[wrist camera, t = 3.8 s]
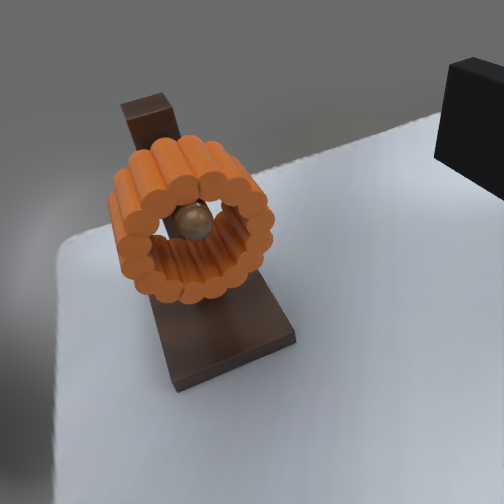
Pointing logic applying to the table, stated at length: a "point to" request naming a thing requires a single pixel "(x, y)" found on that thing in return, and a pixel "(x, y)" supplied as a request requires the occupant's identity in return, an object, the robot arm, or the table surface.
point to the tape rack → (206, 310)
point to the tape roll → (185, 193)
